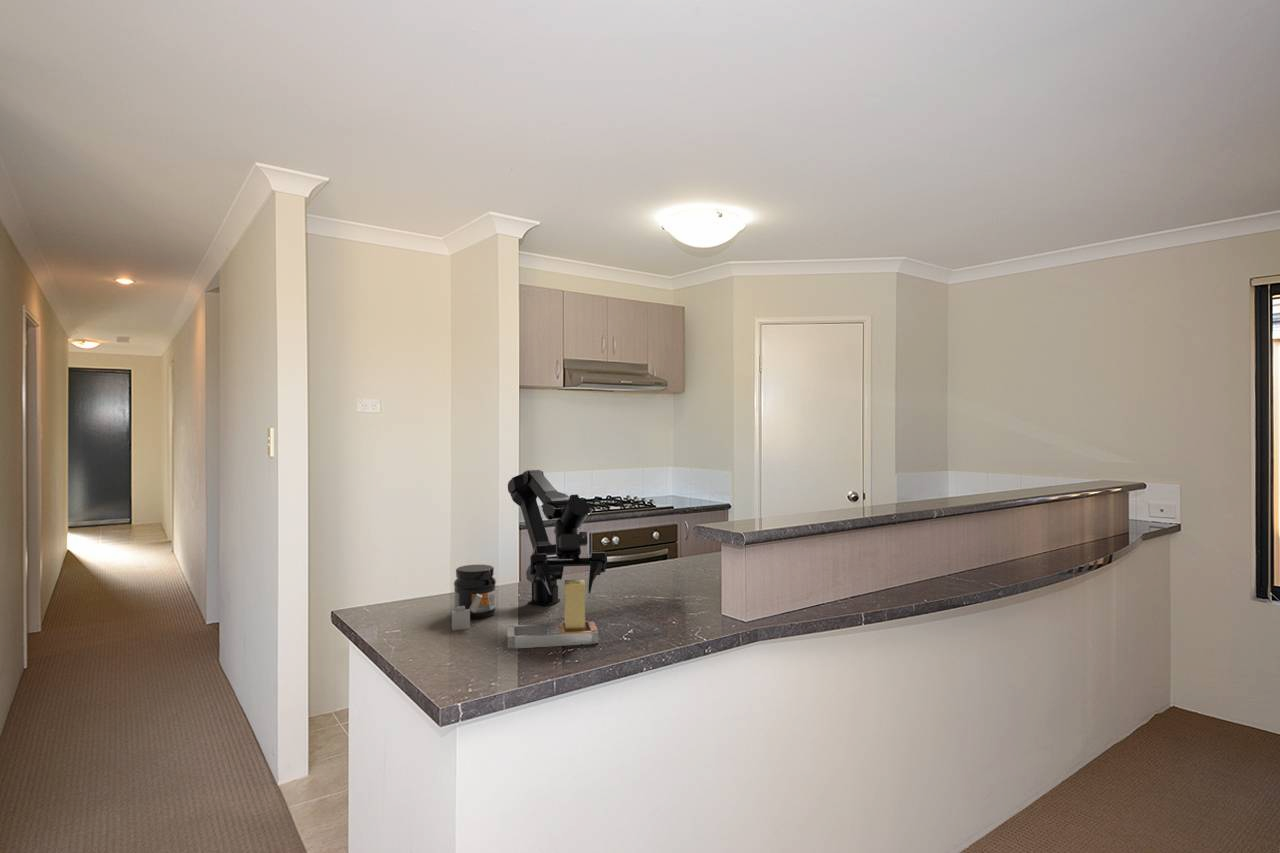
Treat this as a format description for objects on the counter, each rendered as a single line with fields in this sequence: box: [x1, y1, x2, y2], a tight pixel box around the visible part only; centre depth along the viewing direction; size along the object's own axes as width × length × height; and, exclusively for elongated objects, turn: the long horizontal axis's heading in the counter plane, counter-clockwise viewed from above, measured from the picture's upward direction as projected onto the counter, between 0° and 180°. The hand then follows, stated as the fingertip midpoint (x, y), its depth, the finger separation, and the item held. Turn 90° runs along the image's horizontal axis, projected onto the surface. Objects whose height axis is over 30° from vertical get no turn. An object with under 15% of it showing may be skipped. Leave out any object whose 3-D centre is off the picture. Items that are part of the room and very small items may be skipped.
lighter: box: [451, 594, 482, 631], centre depth 171 cm, size 7×2×8 cm, turn 110°
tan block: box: [564, 579, 586, 632], centre depth 163 cm, size 4×4×13 cm
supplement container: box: [453, 563, 497, 620], centre depth 183 cm, size 10×10×12 cm
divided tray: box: [506, 620, 599, 650], centre depth 162 cm, size 20×9×3 cm, turn 101°
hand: (570, 593), depth 170 cm, fingers open, 9 cm apart
